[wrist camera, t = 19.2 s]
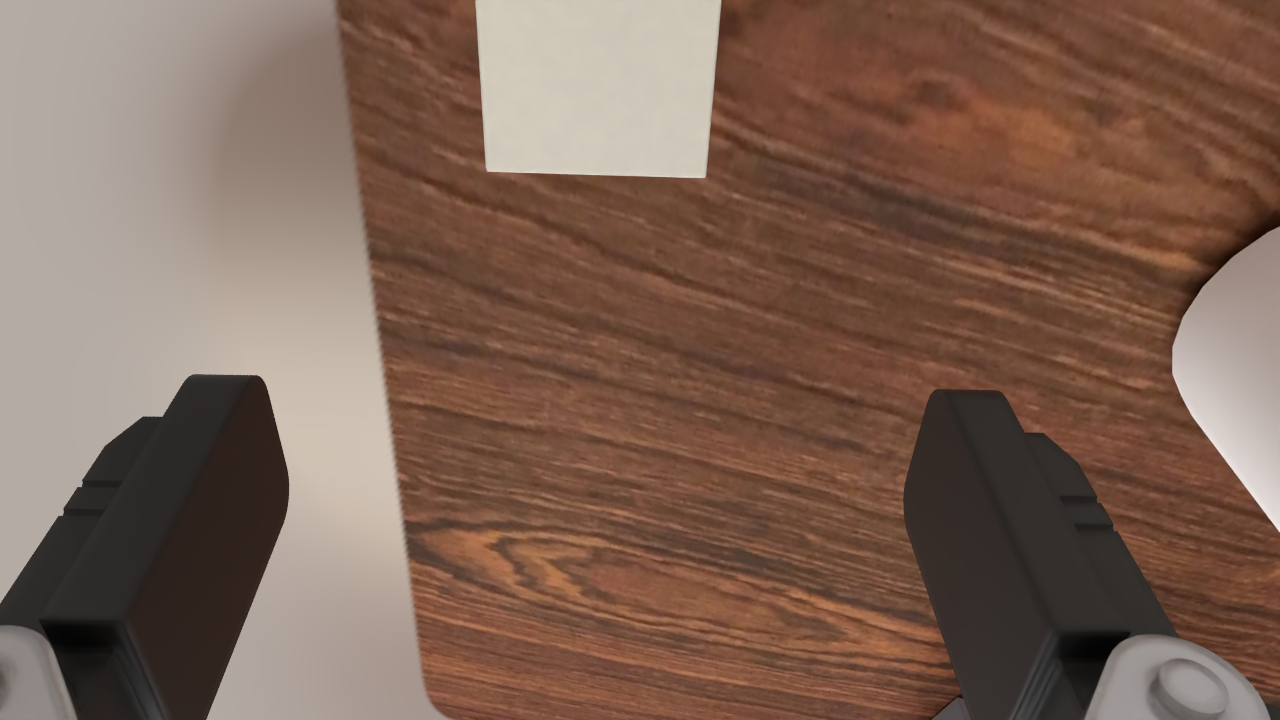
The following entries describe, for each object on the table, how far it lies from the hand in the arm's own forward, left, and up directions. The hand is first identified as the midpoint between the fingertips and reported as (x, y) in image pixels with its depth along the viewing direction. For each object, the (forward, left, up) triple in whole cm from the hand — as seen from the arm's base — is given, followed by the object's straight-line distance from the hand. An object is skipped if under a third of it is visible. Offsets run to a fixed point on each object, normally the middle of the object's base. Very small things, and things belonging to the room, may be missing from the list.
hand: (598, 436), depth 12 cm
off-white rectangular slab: (-1, +2, -14) cm, 14 cm away
